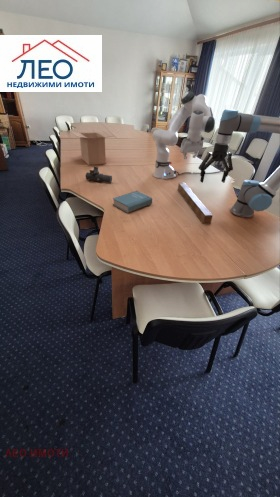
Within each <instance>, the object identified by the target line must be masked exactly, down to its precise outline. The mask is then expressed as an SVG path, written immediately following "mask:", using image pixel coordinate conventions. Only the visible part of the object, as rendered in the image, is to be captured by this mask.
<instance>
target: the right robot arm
mask: <svg viewBox="0 0 280 497" xmlns="http://www.w3.org/2000/svg"><path fill="white" fill-rule="evenodd" d="M234 132H235V133H248V134H256V133H257V132H262V133H269V134H270V133H271V134H278V135H280V117H277V116H269V115H261V114H260V115H259V114H249V113H243V112H239V110H238V109H231V108H230V109H229V108H225V109H224V110H223V111H222V114H221V117H220V120H219V125H218V129H217V134H216V138H215V143H214V144H213V145H214V146H213V151H212V152H210V151H207V153H206V155H205V157H204V158H203V160H202V161H201V163H200V164H199V166H198V170H200V172H199V173H200V174H199V176H200V178H199V179H200V180H199V181H200V183H201V184H202V183H204V180H205V175H206V174H205V173H207V172H206V170H207V169H208V168H209V167H210V166H212V164H213V163H216V162H221V163H222V165H223V167H224V171H223V174H222V177H221V182H222V183H223V184H224V183H225V182H226V180H227V178H228V176H229V173H230V172H231V171H233V170H234V166H233V159H232V156H233V153H231V152H229V147H230V143H231V140H232V136H233V134H234ZM226 158H227V160H226ZM279 189H280V165H279V166H278V167H277V168H276V169H275V170H274V171H273V172H272V174H270V175H269V176H268V178H267V179H266V180H265V181H264V182H262V181H259V180H254V179H245V180H243V182H242V184H241V186H240V189H239V192H238V196H237V199H236V201H235V202H234V203H233V205H232V206H231V207H230V213H231V214H233V215H234V216H236V217H239V218H243V219H250V218H253V217H254V214H255V212H263V211H265V210H266V211H267V210H268V209H269V208H270V207H271V205H272V204H273V199H274V198H275V197H276V193H277V191H278V190H279Z"/></svg>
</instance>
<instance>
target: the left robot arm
mask: <svg viewBox="0 0 280 497" xmlns="http://www.w3.org/2000/svg"><path fill="white" fill-rule="evenodd" d="M180 102H181V104H182V105H183V106H181V107H179V108H178V109H177V110H176V111H175V112H174V114H173V115H172V116H171V118H170V119H169V121H168V123H167V126H168V129H162V128H161V129H159V128H158V129H155V130H154V131H153V133H152V140H153V142H154V143H155V147H156V159H155V165H154V171H153V175H152V176H153V177H154V178H156V179H162V180H169V179H173V178H177V175H178V176H180V175H184V174H190V172H181V173H179V172H178V171H177V170H175V169H174V168H173V167H172V166H171V165H172V164H173V162H172V161H169V158H170V150H169V149H168V147H174V146H176V145H177V143H178V140H179V136H178V133H179V131H180V129H181V127H182V126H183V125H184V123H185V122H186V121H187V119H188V121H187V126H186V127H187V128H188V131H187V135H186V138H183V140H182V141H181V144H180V148H179V152H180V153H181V154H182V155H183V159H184V160H187V158H188V156H187V154H189V153H190V154H191V153H193V154H192V159H196V157H197V154H198V152H201V151H202V150H203V147H204V141H205V137H204V136H202V135H201V134H202V133H206V134H208V133H209V134H210V133H211V132H212V131H214V129H215V126H216V119H215V117H214V114H213V109H212V107H211V106H210V105H208V98H207V96H206V95H205V94H203V93H200V94H198V95H196V94H195V92H193V91H192V90H187V91H186V92H184V94H182V97H181V98H180ZM167 146H168V147H167ZM224 170H225V169H224ZM224 170H220V171H213V172H205V175H209V174H211V175H212V174H217V173H222V172H224ZM200 173H201V172H194V174H195V175H196V174H197V175H198V174H199V175H200ZM176 174H177V175H176Z"/></svg>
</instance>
